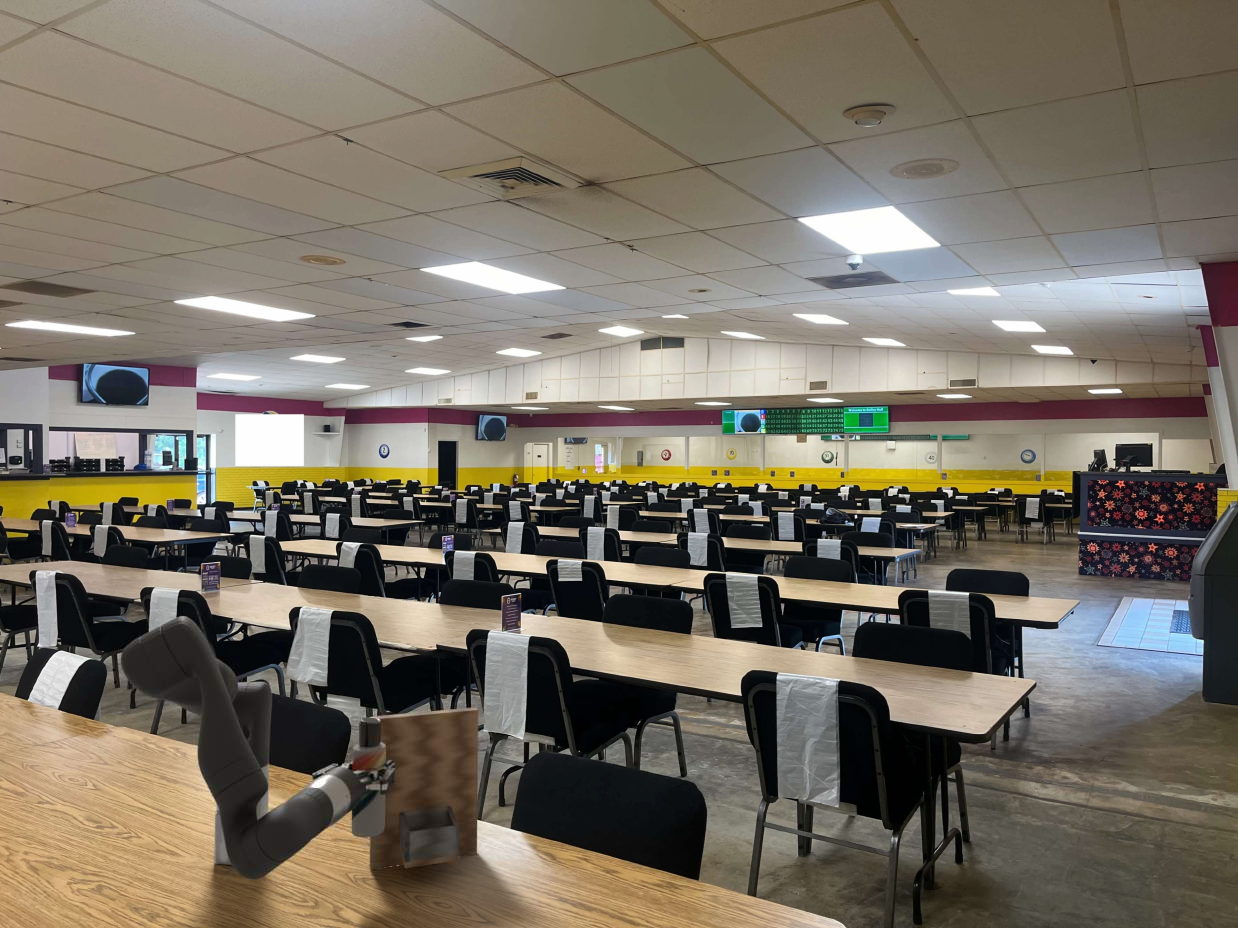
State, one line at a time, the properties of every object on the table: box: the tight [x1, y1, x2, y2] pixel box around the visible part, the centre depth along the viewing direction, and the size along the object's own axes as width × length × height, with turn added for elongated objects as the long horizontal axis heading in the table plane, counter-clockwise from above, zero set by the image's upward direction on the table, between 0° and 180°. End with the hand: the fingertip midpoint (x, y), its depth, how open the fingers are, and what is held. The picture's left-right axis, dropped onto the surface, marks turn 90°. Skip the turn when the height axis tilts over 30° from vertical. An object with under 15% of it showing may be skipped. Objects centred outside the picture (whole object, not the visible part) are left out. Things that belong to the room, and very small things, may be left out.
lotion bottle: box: [351, 716, 386, 839], centre depth 150 cm, size 6×6×20 cm
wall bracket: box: [369, 706, 479, 871], centre depth 157 cm, size 20×12×28 cm, turn 110°
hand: (375, 764), depth 152 cm, fingers closed on lotion bottle, 5 cm apart
